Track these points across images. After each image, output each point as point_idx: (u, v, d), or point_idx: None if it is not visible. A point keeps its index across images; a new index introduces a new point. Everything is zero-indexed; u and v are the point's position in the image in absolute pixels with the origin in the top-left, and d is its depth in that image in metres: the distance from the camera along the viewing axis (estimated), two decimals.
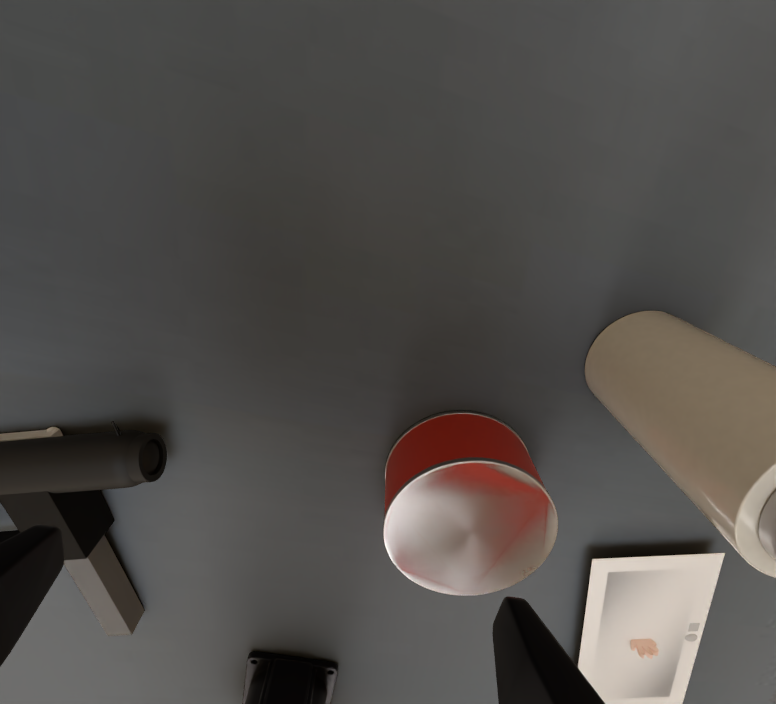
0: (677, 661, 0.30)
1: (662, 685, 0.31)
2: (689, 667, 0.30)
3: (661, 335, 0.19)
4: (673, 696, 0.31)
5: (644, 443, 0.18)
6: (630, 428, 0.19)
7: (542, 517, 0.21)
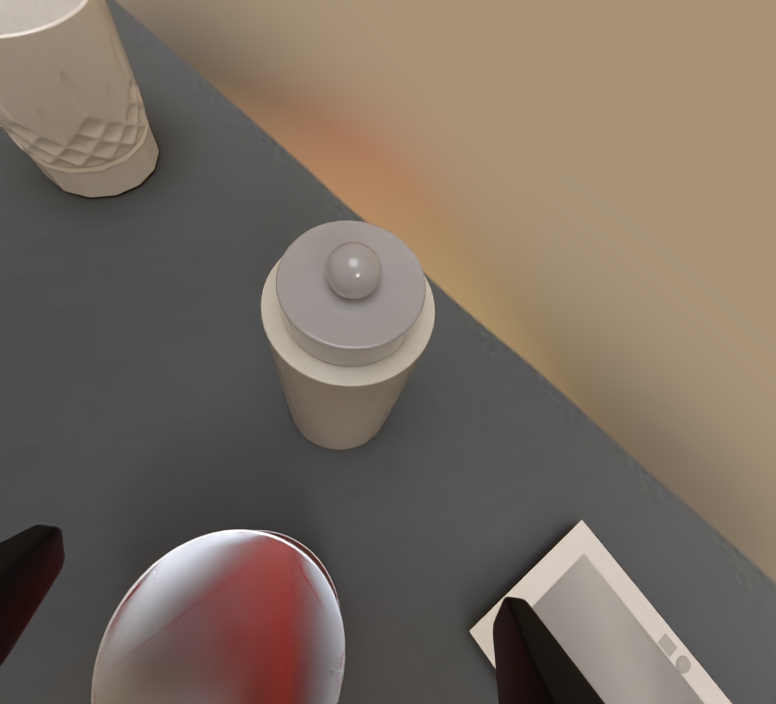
0: None
1: None
2: None
3: None
4: None
5: (304, 413, 0.18)
6: (305, 419, 0.19)
7: (296, 572, 0.17)
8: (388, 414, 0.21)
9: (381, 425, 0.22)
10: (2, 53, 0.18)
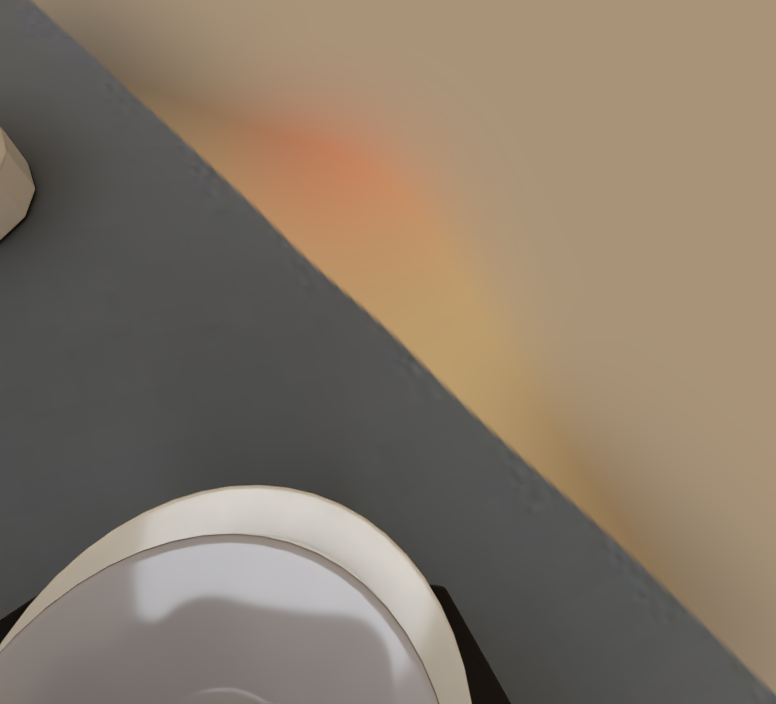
0: None
1: None
2: None
3: None
4: None
5: None
6: None
7: None
8: None
9: None
10: None
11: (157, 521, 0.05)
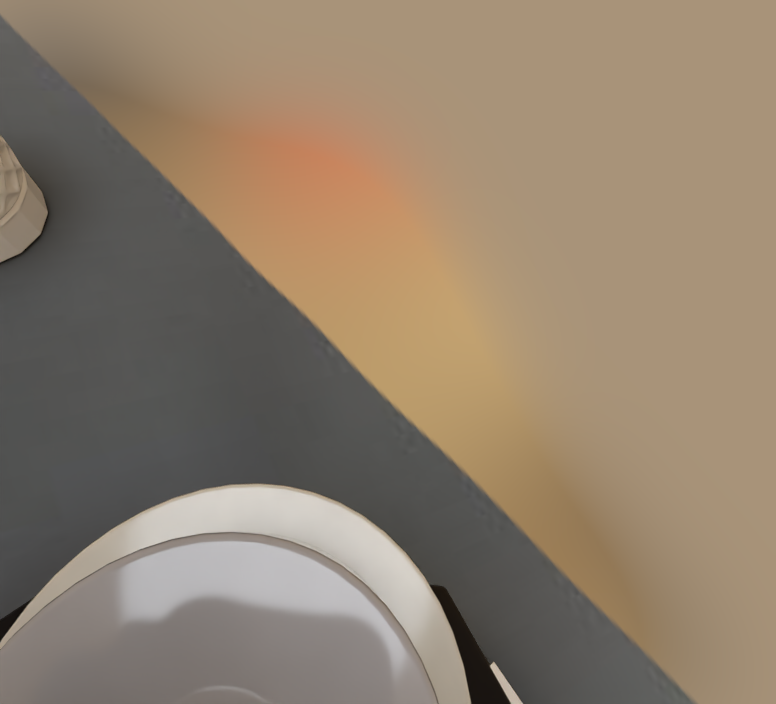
0: None
1: None
2: None
3: None
4: None
5: None
6: None
7: None
8: None
9: None
10: None
11: (157, 520, 0.06)
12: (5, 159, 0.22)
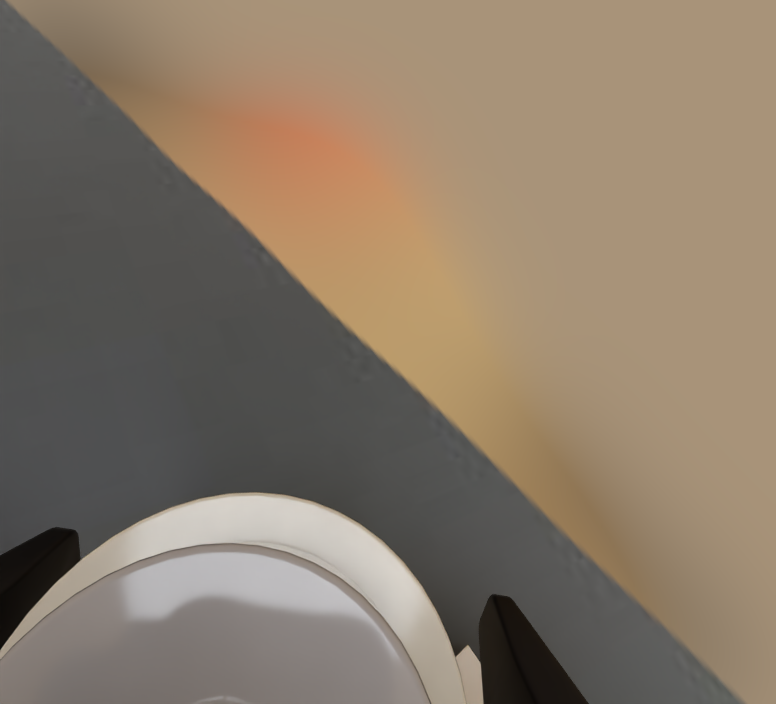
0: None
1: None
2: None
3: None
4: None
5: None
6: None
7: None
8: None
9: None
10: None
11: (155, 528, 0.06)
12: None
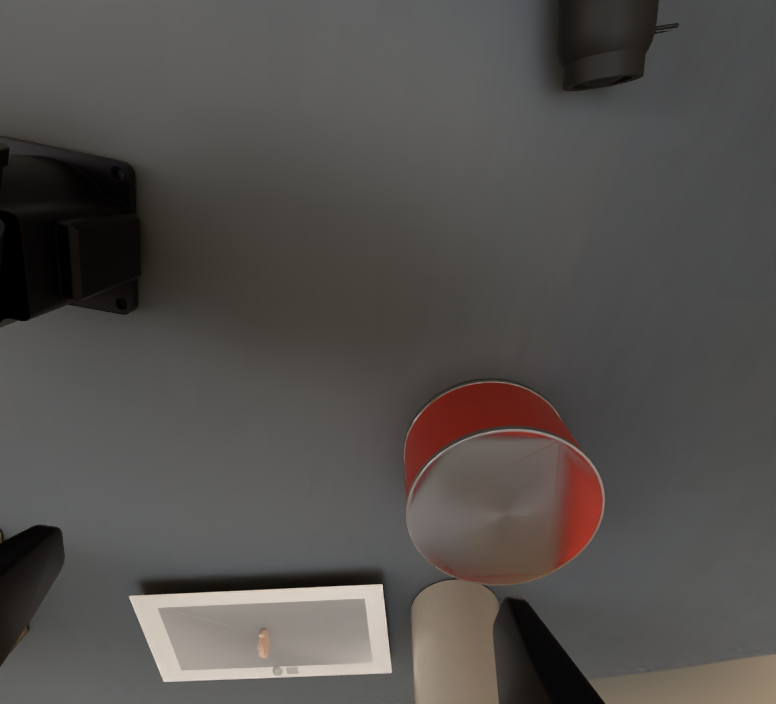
0: (239, 667, 0.28)
1: (197, 662, 0.28)
2: (231, 677, 0.29)
3: None
4: (183, 673, 0.28)
5: (450, 685, 0.21)
6: (447, 661, 0.22)
7: (519, 572, 0.20)
8: None
9: None
10: None
11: None
12: None
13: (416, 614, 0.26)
